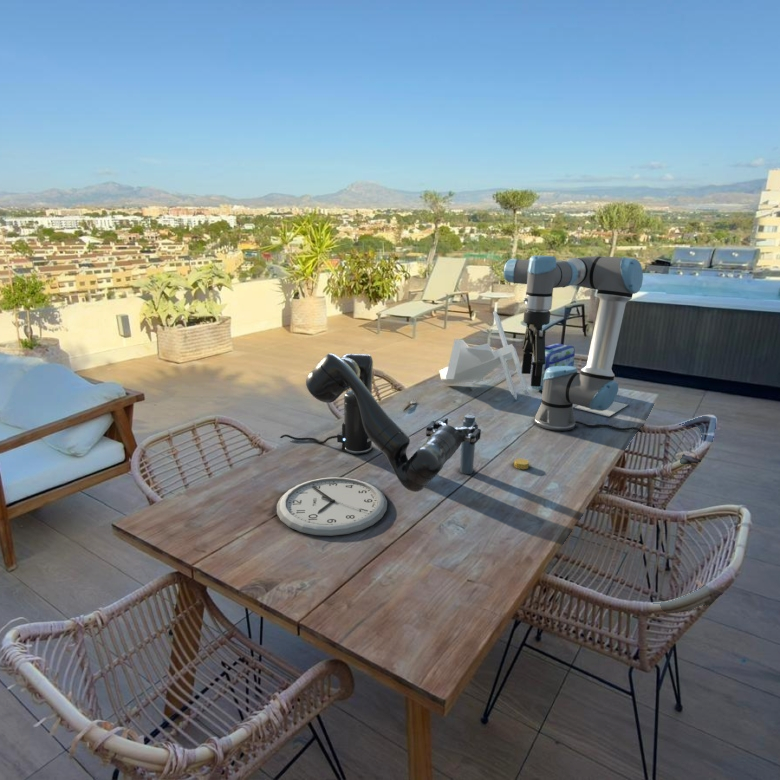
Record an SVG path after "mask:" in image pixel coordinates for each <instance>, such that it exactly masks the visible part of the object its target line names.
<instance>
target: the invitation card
mask: <svg viewBox="0 0 780 780" xmlns="http://www.w3.org/2000/svg"><path fill="white" fill-rule="evenodd" d="M628 406H629V404H627V403H623V402H618V401H614V402H613V403H612V405H611V406H610V407H609V408H608V409H606V410H604V411H599V410H594V409H593V410H592V409H590V408H587V407H583V406H580V405H575V406H574V407H573V409H575V410H581V411H584V412H587V413H593V414H596V415H600V416H604V417H608V418H609V417H611V416H613V415H614V414H616V413H617V412H619V411H621V410H623V409H624V408H626V407H628Z"/></svg>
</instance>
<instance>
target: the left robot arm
mask: <svg viewBox="0 0 780 780" xmlns="http://www.w3.org/2000/svg"><path fill="white" fill-rule="evenodd" d="M373 373H374V360H373V357H372V355H370V354H364V353H363V354H361V353H346V354H343V355H342V356H341V357H340V356H339V355H337V354H335V353H332V352H331V353H330V352H329V353H327V354H326V355H325V356H323V358H322V359H321V360H320V361H319V362H318V363H317V364H316V365H315V367H314V368H312V370H311V371H310V372H309V373H308V375H307V376H306V379H305V386H306V389H307V391H308V392H309V394H310V395H311V396H312V397H313V398H315V399H316V400H318V401H320V402H322V403H327V404H328V403H330V404H331V403H333V402H335V401H336V400H337V399H338V398H340V396H341V395H342V394H343V393H344V395H343V408H344V409H343V410H344V413H343V415H344V417H343V418H344V422H342V423H341V431H340V432H339V433H337V434H336V435H331V436H329V437H326V438H325V439H324V440H319V439H317V438H315V437H295V436H293V435H290V434H281V435H280V436H279V439H283V438H284V437H285V438H290V439H292V440H295V441H305V440H306V441H314V442H316V443H318V444H325V443H326V442H328V441H329V440H331V439H336V441H337V443H340V444H341V449H342V451H345V452H346V453H348V454H352V455H365V454H367V453H370V452H371V451H372V450H373V445H372V444H374V445H375V446H376V448H377V449H378V450H379V451H380V452H381V453H383V455H384V456H385V457H386V459H387V461H388V463H389V465H390V466H391V467H390V468H392V470H393V472H394V474H395V476H396V478H397V480H398V481H399V483H400V484H401V486H403V487H404V488H405V489H407V490H408V491H410V492H414V493H418V492H421V491H423V490H424V489H425V488H426V486H428V484H430V482H431V481H432V480H433V479H434V478H435V477H436V476H437V475H438V474H439V472H441V470H442V469H443V468H444V465H445V464H446V463H447V461H448V460H450V459H451V458H452V457H453V455H454V454H455V453H456V451H458V449H459V448H460V446H462V442H464V441H470V444H471V445H474V444H475V445H476V444H477V442H478V441H479V440H480V439H481V434H482V429H481V428H479V424H478V423H477V422H476V423H473V425H472V426H471V427H469V428H467V427H463V426H462V427H454V426H452V425H450V424H449V425H448V423H449V418H448V417H445V418H443V419H440V420H439V421H438V422H436V420H431V421H430V423H428V425H427V426H426V428H425V430H426V431H425V436H426V437H428V438H427V440H426V441H425V442H424V443H423V444H422V445H421V446H420V447H419V448H418V449H417V450H416V451H415V452H414V453H413V454H412V455H411V457H409V458H408V455H407V449H408V448H409V445H410V442H411V440H410V437H409V436H408V435H407V433H406V432H404V430H403V429H402V428H401V426H399V425H398V424H397V423H396V422H395V420H393V419H392V418H391V417H390V416H389V414H387V412H386V411H385V410H384V408H383V407H382V406H381V405H380V404H379V402H378V401H377V399H376V398H375V396H374V395H373V375H374V374H373ZM463 431H464V432H463ZM469 431H470V434H469Z"/></svg>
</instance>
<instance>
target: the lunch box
mask: <svg viewBox="0 0 780 780" xmlns="http://www.w3.org/2000/svg"><path fill="white" fill-rule="evenodd" d="M575 352H576V351H575V346H573V345H568V344H562V343H553V344H550V345H547V346H546V345H545V365H544V364H543V367H542V376H541V386H531V385H530V387H531V389H533V390H539V391H543V381H544V380H543V378H544V374H545V371H546V369H547V368H550V367H554V366H573V367H574V363H575ZM532 362H534V357H533V356H532ZM532 366H533V365H532V364H531V367H532ZM531 376H532V371H531V374H530V377H531Z"/></svg>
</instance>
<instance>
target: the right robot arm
mask: <svg viewBox="0 0 780 780" xmlns="http://www.w3.org/2000/svg"><path fill="white" fill-rule="evenodd" d="M503 277H504V280H505V281H506V282H507V283H512V284H521V285H526V291H525V298H523V302H525V303H524V308H525V310H524V311H523V319H522V321H523V323H524V324H526V328H525V333H524V337H523V341H522V345H521V350H522V363H521V368H522V372H521V373H522V374H523V375H530V387H531V386H541V376H542V367H543V364H544V365H545V346H546V332H547V331H546V330H545V329H543V326H547V325H549V324H550V321H551V310H552V306H553V298H554V297H553V292H554V289H557V288H563V289H564V288H567V287H570V286H575V287H581V288H585V289H591V290H596V296H597V297H598V299H599V304H598V308H597V312H596V318H595V322H594V328H593V332H592V336H591V341H590V346H589V350H588V354H587V361H586V364H585V366H584V367H582V368H581V369H580V371H579V372H578V368H577V367H576V366H574V365H573V366H554V367H550V368H547V369H546V371H545V374H544V378H543V380H544V381H543V390H541V391H542V394H541V402H540V405H539V407H538V410H537V411H536V413H535V416H534V424H535V425H536V426H537V427H539V428H542V429H544V430H549V431H556V432H567V431H572V430H574V429H575V428H576V424H577V425H580V426H584V427H587V428H597V427H599V428H600V427H603V428H605V427H606V428H608V429H609V428H610V429H613V430H617V431H632V430H634V431H637V432H639V433H640V434H641V433H642V434H643V430H642V429H640V428H639V427H637V426H636V427H635V426H630V427H617V426H614V425H611V424H605V423H597V424H588V423H585V422H581V421H579V420H578V421H577V420H576V418H575V417H576V416H575V413H574V407H573V405H575V406H578V405H580V406H583V407H587V408H590V409H592V410H593V409H594V410H599V411H604V410H606V409H608V408H609V407H610V406H611V405H612V403H613V402H615V400H616V398H617V396H618V392H619V383H618V382H617V380H615V375H616V374H615V373H614V372H613V370H612V368H613V363H614V360H615V354H616V350H617V345H618V341H619V336H620V333H621V327H622V323H623V318H624V314H625V309H626V304H627V303H628V302H630V301H631V300H632V298H633V295H634V294H638V293H639V292H640V290H641V288H642V286H643V280H644V272H643V267H642V264H641V262H640V261H639V260H638V259H636V258H632V257H625V256H601V255H592V256H583V257H571V258H568V259H567V260H557V258H556V257H555V256H554V255H531V256H530V258H529V259H524V258H523V259H520V258H511V259H508V260H507V261H506V262H505V264H504V267H503ZM533 357H534V362H532V361H533ZM532 365H533V366H532ZM531 372H532V376H531Z"/></svg>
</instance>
